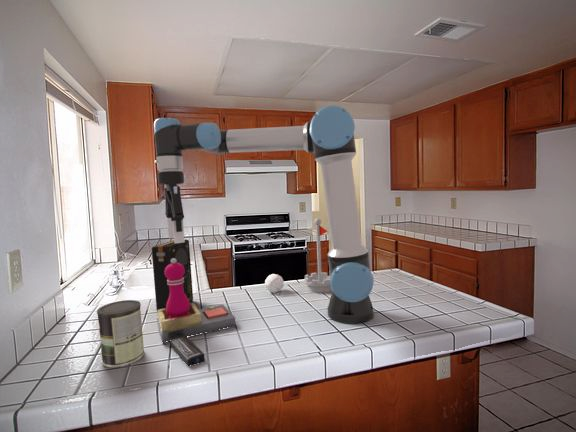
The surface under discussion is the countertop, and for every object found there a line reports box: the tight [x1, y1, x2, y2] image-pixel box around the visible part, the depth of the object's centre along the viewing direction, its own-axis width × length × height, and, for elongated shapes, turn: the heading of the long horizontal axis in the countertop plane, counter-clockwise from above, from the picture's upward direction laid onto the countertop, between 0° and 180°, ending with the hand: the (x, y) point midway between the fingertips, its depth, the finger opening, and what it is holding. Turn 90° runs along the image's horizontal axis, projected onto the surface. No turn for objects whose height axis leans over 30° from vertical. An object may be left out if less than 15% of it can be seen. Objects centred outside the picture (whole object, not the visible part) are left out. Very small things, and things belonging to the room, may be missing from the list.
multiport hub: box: [170, 336, 206, 367], centre depth 90 cm, size 4×14×2 cm, turn 36°
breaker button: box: [204, 307, 227, 319], centre depth 110 cm, size 6×6×3 cm
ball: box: [264, 273, 285, 294], centre depth 139 cm, size 8×8×8 cm
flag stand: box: [304, 217, 332, 294], centre depth 140 cm, size 13×13×30 cm
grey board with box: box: [156, 302, 236, 343], centre depth 107 cm, size 14×22×6 cm, turn 117°
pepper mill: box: [164, 258, 191, 319], centre depth 104 cm, size 7×7×20 cm
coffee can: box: [96, 299, 145, 368], centre depth 88 cm, size 10×10×14 cm
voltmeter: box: [151, 239, 194, 313], centre depth 125 cm, size 16×9×25 cm, turn 168°
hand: (176, 240), depth 103 cm, fingers open, 13 cm apart
